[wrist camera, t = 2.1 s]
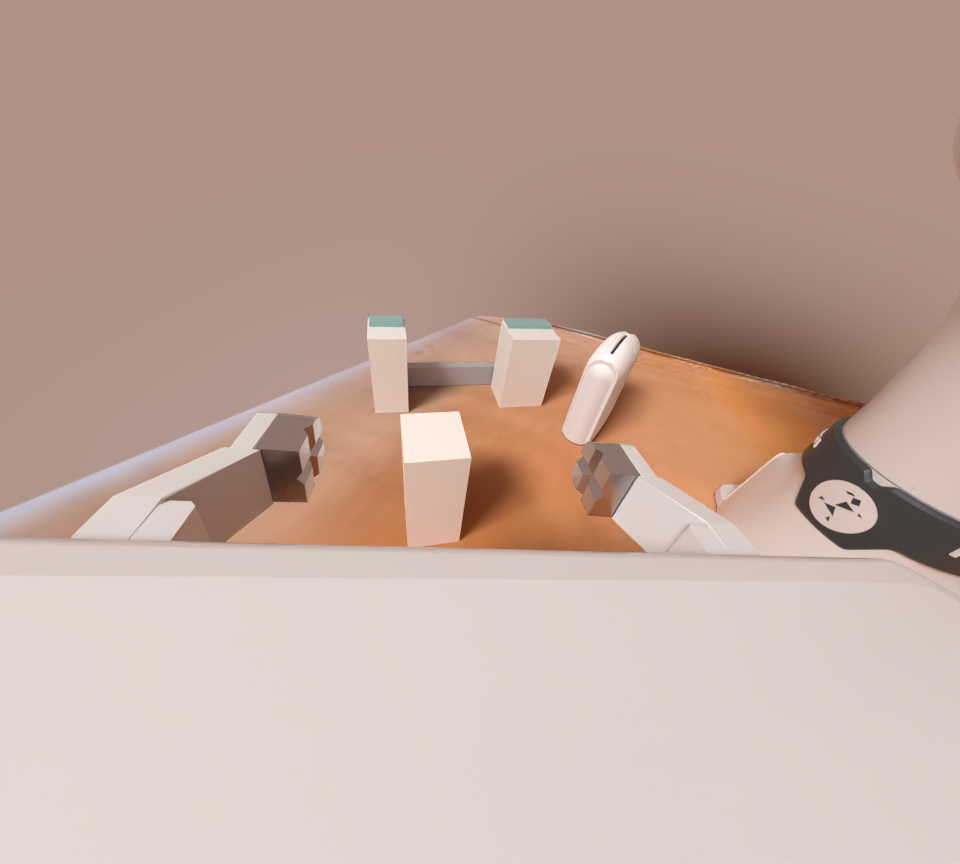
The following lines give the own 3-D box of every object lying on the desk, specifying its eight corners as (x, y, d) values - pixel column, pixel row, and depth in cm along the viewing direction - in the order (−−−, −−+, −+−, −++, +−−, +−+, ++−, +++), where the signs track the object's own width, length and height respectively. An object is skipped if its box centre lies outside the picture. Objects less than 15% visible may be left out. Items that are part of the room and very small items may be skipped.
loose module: (450, 495, 34) (458, 410, 27) (459, 541, 31) (471, 457, 23) (404, 499, 33) (400, 413, 26) (407, 548, 30) (404, 463, 22)
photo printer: (584, 399, 50) (617, 318, 41) (612, 412, 48) (652, 330, 40) (555, 435, 43) (587, 347, 35) (586, 451, 41) (628, 363, 33)
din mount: (526, 378, 52) (542, 312, 45) (541, 406, 47) (562, 336, 40) (375, 382, 47) (367, 308, 40) (375, 413, 42) (366, 335, 35)
